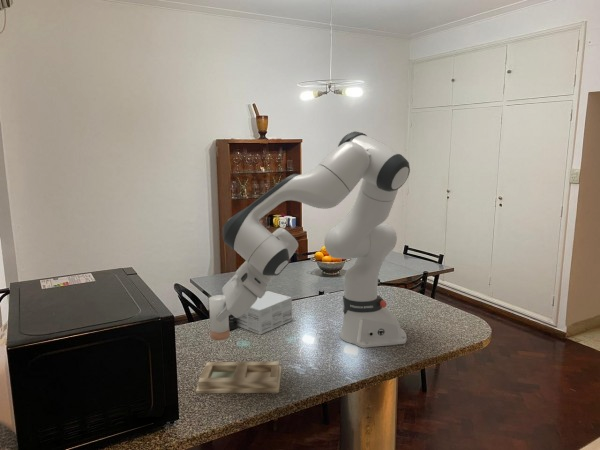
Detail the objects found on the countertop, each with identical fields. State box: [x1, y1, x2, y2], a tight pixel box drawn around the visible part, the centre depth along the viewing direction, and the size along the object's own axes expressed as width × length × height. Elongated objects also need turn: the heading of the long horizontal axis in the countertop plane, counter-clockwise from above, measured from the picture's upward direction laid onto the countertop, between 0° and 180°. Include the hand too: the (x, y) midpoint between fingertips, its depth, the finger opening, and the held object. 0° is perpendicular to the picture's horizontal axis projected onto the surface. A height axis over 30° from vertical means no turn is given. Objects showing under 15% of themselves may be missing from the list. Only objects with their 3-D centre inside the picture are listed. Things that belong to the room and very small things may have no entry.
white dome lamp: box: [208, 294, 231, 341], centre depth 121 cm, size 5×5×11 cm
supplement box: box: [237, 290, 293, 335], centre depth 163 cm, size 17×13×9 cm
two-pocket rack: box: [195, 361, 282, 394], centre depth 123 cm, size 22×13×3 cm, turn 89°
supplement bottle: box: [228, 314, 238, 331], centre depth 160 cm, size 7×7×12 cm
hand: (217, 315), depth 120 cm, fingers closed on white dome lamp, 5 cm apart
